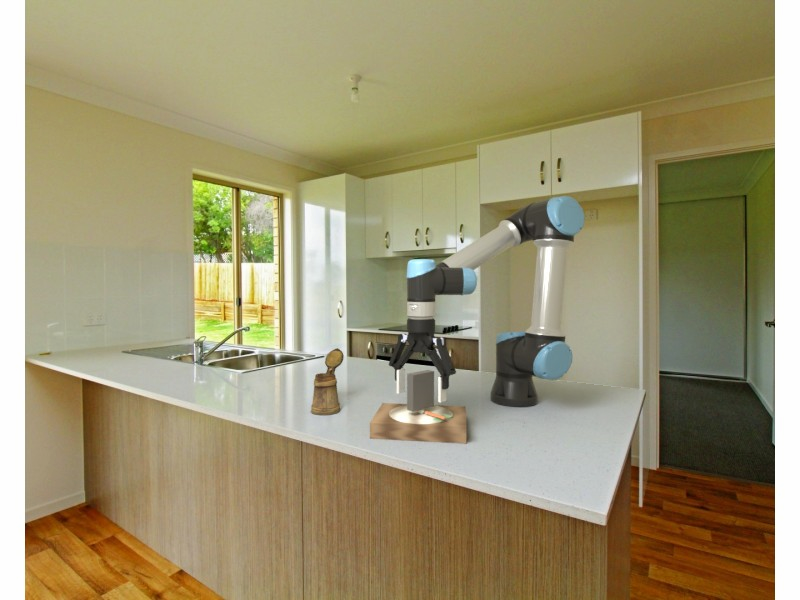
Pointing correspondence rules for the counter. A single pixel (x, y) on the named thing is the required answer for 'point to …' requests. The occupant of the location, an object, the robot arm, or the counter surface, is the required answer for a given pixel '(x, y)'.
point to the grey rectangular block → (421, 392)
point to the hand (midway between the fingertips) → (420, 397)
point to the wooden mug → (327, 386)
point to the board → (419, 424)
